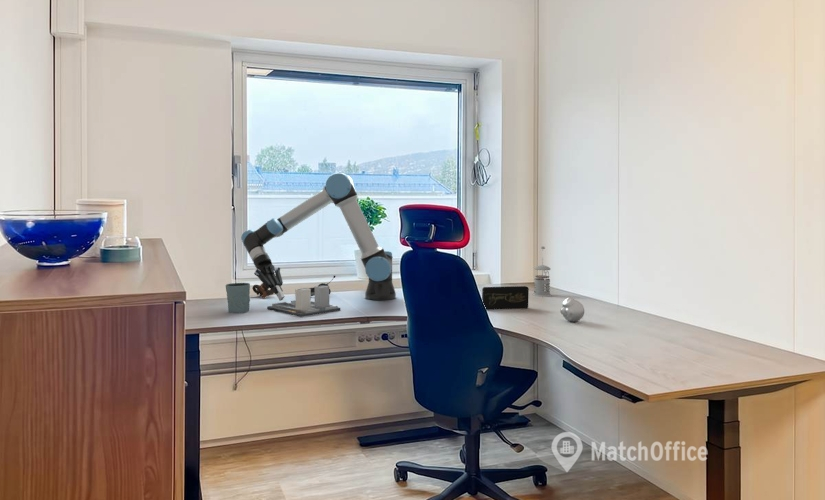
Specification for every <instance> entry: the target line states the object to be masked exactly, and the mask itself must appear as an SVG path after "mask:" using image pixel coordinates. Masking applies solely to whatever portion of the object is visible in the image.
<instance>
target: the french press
mask: <svg viewBox="0 0 825 500" xmlns="http://www.w3.org/2000/svg"><path fill="white" fill-rule="evenodd" d="M540 249H542V250H544V249H546V247H545V246H543V245H542V246H540ZM541 260H542V264H541V265H537V266H535V267H534V270H536V271H541V274H540V275H535V278H534V289H533V290H534V293H533V294H532V296H534V297H542V298H543V297H544V298H546V297H552V294H551V288H550V287H551V285H550V284H551V279H550V274H549V271H551V267H549V266H547V265H544V264H543V263H544V258H542V259H541ZM543 274H545V275H543ZM547 274H548V275H547Z"/></svg>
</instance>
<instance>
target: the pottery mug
mask: <svg viewBox="0 0 825 500" xmlns="http://www.w3.org/2000/svg"><path fill="white" fill-rule="evenodd" d="M252 291H253V292H254V293H255V294H256V295H257V296H259V297H262V298H263V299H266V298H267V297H268V296H269V297H270V296H272V295H275V293H274V292H273V290H270V289H269V288H267V287H266V286H265V285H264V284H263V282H261V283H260V285H259V284H253V286H252Z"/></svg>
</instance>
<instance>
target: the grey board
mask: <svg viewBox="0 0 825 500" xmlns="http://www.w3.org/2000/svg"><path fill="white" fill-rule="evenodd" d="M266 309H267V310H268V311H273V312H278V313H281V314H286V315H290V316H294V317H297V318H303V317H309V316H315V315H323V314H327V313H334V312H339V311H341V307H338V305H333V304H329V307H325V308H322V307H317V306H315V301H313V300H311V310H306V311H303V310H298V309H296V300H295V299H294V300H290V302H287V301H281V302H275V303H272V304H271V305H270V306H267V307H266Z"/></svg>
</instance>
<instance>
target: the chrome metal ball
mask: <svg viewBox="0 0 825 500" xmlns="http://www.w3.org/2000/svg"><path fill="white" fill-rule="evenodd" d="M561 304H562V307H561V308H560V314H561V315H562V317H563V318H564V319H565V320H566V321H568V322H571V323H576V322H578V321H580V320H582V318H584V316H585V307H584V305H583V303H582V302H580V301H579V300H577V299H575V298H574V297H572V296H568V297H567V298H565V299H564V300H563V302H562V303H561Z"/></svg>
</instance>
